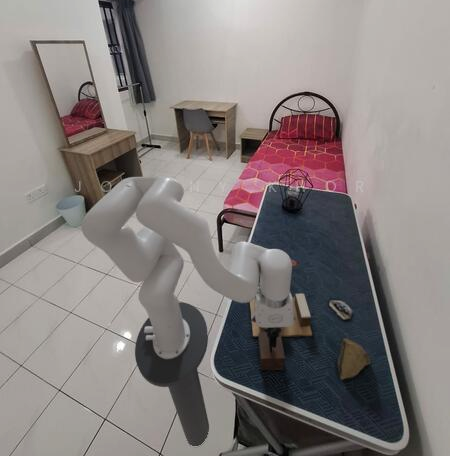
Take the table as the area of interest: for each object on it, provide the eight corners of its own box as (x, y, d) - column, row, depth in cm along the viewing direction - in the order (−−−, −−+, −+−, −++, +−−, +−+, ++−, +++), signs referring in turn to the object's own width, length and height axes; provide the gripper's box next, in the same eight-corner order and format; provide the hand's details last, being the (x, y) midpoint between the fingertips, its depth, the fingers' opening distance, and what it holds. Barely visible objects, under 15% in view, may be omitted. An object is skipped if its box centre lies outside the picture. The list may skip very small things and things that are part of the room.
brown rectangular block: (300, 326, 83) (301, 316, 80) (294, 303, 90) (295, 293, 87) (308, 326, 83) (310, 316, 80) (302, 303, 90) (303, 293, 87)
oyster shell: (348, 324, 84) (349, 321, 83) (325, 309, 88) (326, 306, 88) (354, 309, 88) (355, 306, 87) (332, 295, 93) (333, 292, 92)
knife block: (260, 370, 73) (261, 358, 70) (258, 344, 80) (258, 332, 77) (283, 369, 73) (285, 358, 70) (279, 343, 79) (280, 331, 76)
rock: (368, 341, 77) (335, 332, 78) (381, 350, 69) (345, 339, 71) (368, 384, 72) (333, 373, 74) (382, 398, 64) (344, 385, 66)
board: (253, 337, 81) (253, 335, 81) (249, 299, 93) (249, 298, 93) (311, 336, 81) (312, 334, 80) (301, 298, 93) (301, 296, 92)
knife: (268, 360, 74) (270, 336, 67) (267, 349, 77) (268, 325, 70) (275, 360, 74) (277, 336, 67) (273, 349, 77) (275, 324, 70)
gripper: (244, 307, 59) (246, 347, 67) (309, 305, 58) (303, 345, 66) (242, 279, 65) (244, 318, 74) (301, 277, 65) (296, 317, 73)
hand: (272, 331), depth 70 cm, fingers closed on knife, 2 cm apart
